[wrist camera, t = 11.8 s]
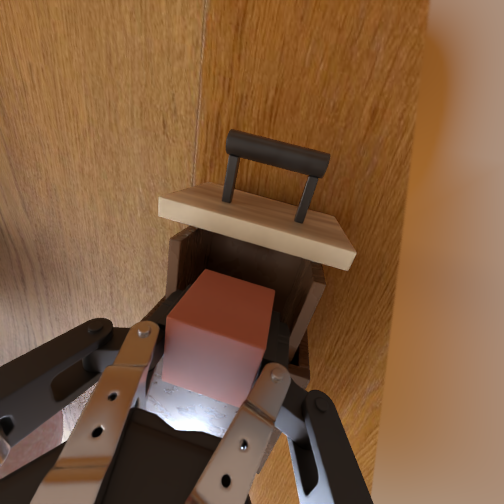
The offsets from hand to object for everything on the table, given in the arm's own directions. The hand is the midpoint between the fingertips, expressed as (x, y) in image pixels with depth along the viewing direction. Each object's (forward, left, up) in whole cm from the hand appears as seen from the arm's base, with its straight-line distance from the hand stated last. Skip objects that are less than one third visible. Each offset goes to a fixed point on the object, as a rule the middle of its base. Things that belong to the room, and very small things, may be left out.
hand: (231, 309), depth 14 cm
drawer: (-1, 0, -9) cm, 9 cm away
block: (0, 0, 0) cm, 0 cm away
